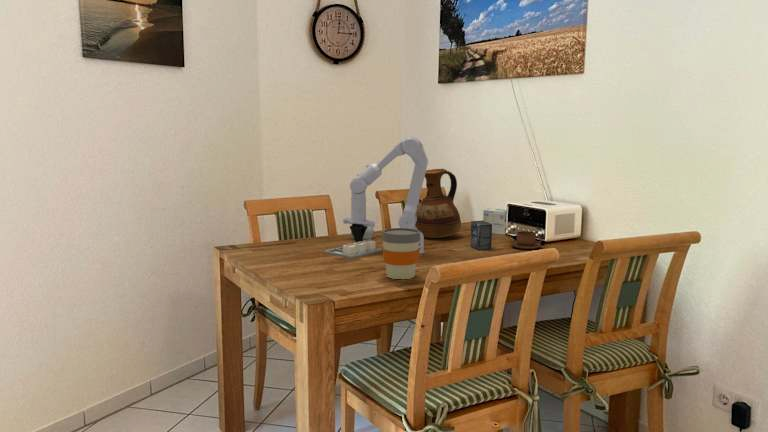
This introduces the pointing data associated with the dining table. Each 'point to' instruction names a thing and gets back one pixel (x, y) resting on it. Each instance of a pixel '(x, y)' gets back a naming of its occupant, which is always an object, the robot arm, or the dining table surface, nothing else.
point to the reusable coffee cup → (400, 252)
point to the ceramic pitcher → (438, 207)
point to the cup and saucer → (526, 240)
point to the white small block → (370, 244)
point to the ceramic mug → (367, 233)
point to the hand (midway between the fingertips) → (358, 243)
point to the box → (481, 235)
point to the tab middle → (360, 247)
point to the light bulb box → (496, 220)
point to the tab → (349, 249)
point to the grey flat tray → (340, 253)
